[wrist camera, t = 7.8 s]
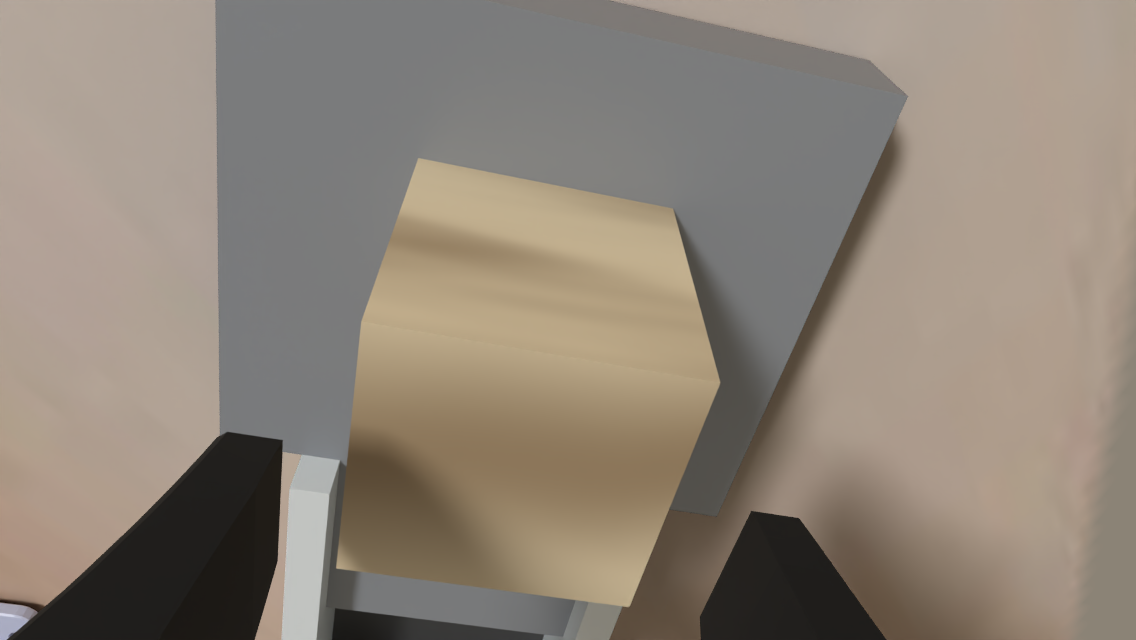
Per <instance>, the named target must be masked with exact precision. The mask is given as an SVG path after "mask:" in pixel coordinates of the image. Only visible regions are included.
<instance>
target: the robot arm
mask: <svg viewBox="0 0 1136 640" xmlns="http://www.w3.org/2000/svg"><path fill="white" fill-rule="evenodd" d="M282 450H283V440H279V439H273V438H266V437H259V436H253V435H246V434H240V433H233V432H226V433H224V434H222V435H221V436H219V437H217V438H216V439H215V440H214V441H213V443H212V444H211V445H210V446H209V447H208V448H207V449H206V450H205V452H204V453H203V454H202V455H201V456H200V457H199V458H198V459H197V460H196V461H195V462H194V463H193V465H192V466H191V467H190V468H189V469H188V470H187V471H186V472H185V473H184V474H183V475H182V476H181V477H180V478H179V479H178V481H177V482H176V483H175V484H174V485H173V486H172V487H171V488H170V489H169V490H168V491H167V492H166V493H165V494H164V495H163V496H162V497H161V498H160V499H159V500H158V501H157V502H156V503H155V504H154V505H153V506H152V507H151V508H150V509H149V510H148V511H147V512H146V513H145V514H144V515H143V516H142V517H141V518H140V519H139V520H138V521H137V522H136V523H135V524H134V525H133V526H132V527H131V528H130V529H129V530H128V531H127V532H126V533H125V534H124V535H123V536H121V537H120V538H119V539H118V540H117V541H116V542H115V543H114V544H113V545H112V546H111V547H110V548H109V549H108V550H107V551H106V552H105V553H104V554H102V555H101V556H100V557H99V558H98V559H97V560H96V561H95V562H94V563H93V564H92V565H91V566H90V567H89V568H88V569H87V570H86V571H85V572H83V573H82V574H81V575H80V576H79V577H78V578H77V579H76V580H75V581H74V582H73V583H71V584H70V585H69V586H68V587H67V588H66V589H65V590H64V591H63V592H61V593H60V594H59V595H58V596H57V597H56V598H55V599H53V600H52V601H51V602H50V603H49V604H48V605H46V606H45V607H44V608H43V609H42V610H41V611H39V612H37V611H35V610H34V609H32V608H30V607H27V606H23V605H16V604H8V603H0V640H255V636H256V633H257V630H258V626H259V623H260V620H261V616H262V613H263V610H264V606H265V603H266V599H267V596H268V592H269V589H270V585H271V582H272V578H273V575H274V571H275V568H276V565H277V561H278V538H279V516H280V494H281V472H282ZM700 629H701V640H886V639H885V637H884V636H883V634H882V633H881V632H880V630H879V629H878V628H877V626H876V625H875V624H874V622H873V621H872V619H871V618H870V617H869V615H868V614H867V612H866V611H865V610H864V608H863V607H862V605H861V604H860V603H859V601H858V600H857V598H856V597H855V596H854V594H853V593H852V591H851V590H850V589H849V587H848V586H847V584H846V583H845V582H844V580H843V579H842V577H841V576H840V574H839V573H838V572H837V570H836V569H835V567H834V566H833V565H832V563H831V562H830V560H829V559H828V558H827V556H826V555H825V553H824V552H823V551H822V549H821V548H820V546H819V545H818V544H817V542H816V541H815V539H814V538H813V537H812V535H811V534H810V532H809V531H808V530H807V528H806V527H805V526H804V524H803V523H802V522H801V520H800V519H799V518H794V517H787V516H781V515H774V514H768V513H761V512H754V511H751V513H750V515H749V517H748V519H747V521H746V523H745V525H744V527H743V529H742V531H741V533H740V536H739V538H738V540H737V542H736V544H735V546H734V548H733V550H732V552H731V554H730V556H729V558H728V560H727V562H726V564H725V566H724V569H723V571H722V573H721V575H720V577H719V579H718V581H717V583H716V585H715V587H714V589H713V591H712V593H711V595H710V597H709V599H708V602H707V604H706V606H705V608H704V610H703V612H702V614H701V616H700Z"/></svg>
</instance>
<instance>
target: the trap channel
mask: <svg viewBox="0 0 1136 640" xmlns="http://www.w3.org/2000/svg"><path fill="white" fill-rule="evenodd" d="M216 96H217V194H218V293H219V392H220V436H221V435H222V434H224V433H226V432H233V433H240V434H246V435H253V436H259V437H266V438H273V439H279V440H283V450H282V452H288V453H295V454H301V455H302V456H301V459H300V462H299V464H298V467H297V470H296V472H295V475H294V478H293V481H292V483H291V486H290V491H289V510H288V529H287V547H286V566H285V585H284V604H283V623H282V640H609V639H610V637H611V634H612V632H613V629H614V627H615V624H616V622H617V619H618V617H619V614H620V612H621V609H622V607H623V606H617V605H609V604H601V603H594V602H586V601H579V600H571V599H564V598H556V597H548V596H541V595H533V594H526V593H518V592H511V591H503V590H495V589H488V588H480V587H473V586H465V585H458V584H450V583H442V582H435V581H427V580H420V579H412V578H404V577H397V576H389V575H382V574H374V573H367V572H359V571H351V570H344V569H336V565H337V556H338V546H339V536H340V526H341V516H342V506H343V496H344V487H345V477H346V467H347V457H348V447H349V437H350V427H351V418H352V408H353V398H354V388H355V378H356V368H357V359H358V349H359V339H360V329H361V321H362V318H363V315H364V312H365V309H366V306H367V304H368V301H369V298H370V295H371V292H372V289H373V286H374V284H375V281H376V278H377V275H378V272H379V269H380V266H381V263H382V261H383V258H384V255H385V252H386V249H387V246H388V243H389V241H390V238H391V235H392V232H393V229H394V226H395V223H396V221H397V218H398V215H399V212H400V209H401V206H402V203H403V201H404V198H405V195H406V192H407V189H408V186H409V183H410V181H411V178H412V175H413V172H414V169H415V166H416V163H417V160H418V158H421V159H426V160H431V161H436V162H441V163H446V164H451V165H456V166H461V167H466V168H471V169H476V170H481V171H486V172H491V173H496V174H501V175H506V176H511V177H516V178H521V179H526V180H531V181H537V182H542V183H547V184H552V185H557V186H562V187H567V188H572V189H577V190H582V191H587V192H592V193H597V194H602V195H607V196H612V197H617V198H622V199H627V200H632V201H637V202H642V203H647V204H653V205H658V206H663V207H668V208H673V210H674V213H675V217H676V221H677V225H678V228H679V232H680V236H681V239H682V243H683V247H684V250H685V254H686V258H687V261H688V265H689V269H690V272H691V276H692V280H693V284H694V287H695V291H696V295H697V298H698V302H699V306H700V309H701V313H702V317H703V320H704V324H705V328H706V331H707V335H708V339H709V342H710V346H711V350H712V354H713V357H714V361H715V365H716V368H717V372H718V376H719V379H720V385H719V388H718V390H717V393H716V395H715V397H714V400H713V402H712V405H711V407H710V410H709V412H708V415H707V417H706V420H705V422H704V425H703V427H702V429H701V432H700V434H699V437H698V439H697V442H696V444H695V447H694V449H693V452H692V454H691V457H690V459H689V461H688V464H687V466H686V469H685V471H684V474H683V476H682V479H681V481H680V484H679V486H678V489H677V491H676V493H675V496H674V498H673V501H672V503H671V506H670V508H669V510H676V511H682V512H689V513H696V514H702V515H709V516H716V517H717V515H718V513H719V511H720V508H721V506H722V504H723V502H724V500H725V497H726V495H727V493H728V491H729V489H730V486H731V484H732V482H733V480H734V478H735V475H736V473H737V471H738V469H739V467H740V464H741V462H742V460H743V458H744V456H745V453H746V451H747V449H748V447H749V445H750V442H751V440H752V438H753V436H754V434H755V431H756V429H757V427H758V425H759V423H760V420H761V418H762V416H763V414H764V412H765V409H766V407H767V405H768V403H769V401H770V398H771V396H772V394H773V392H774V390H775V387H776V385H777V383H778V381H779V379H780V376H781V374H782V372H783V370H784V368H785V365H786V363H787V361H788V359H789V357H790V354H791V352H792V350H793V348H794V346H795V343H796V341H797V339H798V337H799V335H800V332H801V330H802V328H803V326H804V324H805V322H806V319H807V317H808V315H809V313H810V311H811V308H812V306H813V304H814V302H815V300H816V297H817V295H818V293H819V291H820V289H821V286H822V284H823V282H824V280H825V278H826V275H827V273H828V271H829V269H830V267H831V264H832V262H833V260H834V258H835V256H836V253H837V251H838V249H839V247H840V245H841V242H842V240H843V238H844V236H845V234H846V231H847V229H848V227H849V225H850V223H851V220H852V218H853V216H854V214H855V212H856V209H857V207H858V205H859V203H860V201H861V198H862V196H863V194H864V192H865V190H866V187H867V185H868V183H869V181H870V179H871V176H872V174H873V172H874V170H875V168H876V165H877V163H878V161H879V159H880V157H881V154H882V152H883V150H884V148H885V146H886V143H887V141H888V139H889V137H890V135H891V132H892V130H893V128H894V126H895V124H896V121H897V119H898V117H899V115H900V113H901V110H902V108H903V106H904V104H905V102H906V100H907V97H908V96H907V95H906V94H905V93H904V92H903V91H902V90H901V89H900V88H898V87H897V86H896V85H895V84H894V83H893V82H892V81H891V80H890V79H889V78H888V77H887V76H885V75H884V74H883V73H882V72H881V71H880V70H879V69H878V68H877V67H876V66H875V65H874V64H872V63H871V62H870V61H869V60H865V59H860V58H856V57H852V56H847V55H843V54H839V53H834V52H830V51H826V50H821V49H817V48H813V47H808V46H804V45H800V44H795V43H791V42H787V41H782V40H778V39H774V38H769V37H765V36H761V35H756V34H752V33H748V32H743V31H739V30H735V29H730V28H726V27H722V26H717V25H713V24H709V23H705V22H700V21H696V20H692V19H687V18H683V17H679V16H674V15H670V14H666V13H661V12H657V11H653V10H648V9H644V8H640V7H635V6H631V5H627V4H622V3H618V2H614V1H609V0H216Z"/></svg>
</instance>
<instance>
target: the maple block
mask: <svg viewBox="0 0 1136 640" xmlns="http://www.w3.org/2000/svg"><path fill="white" fill-rule="evenodd" d="M719 385H720V379H719V376H718V372H717V368H716V365H715V361H714V357H713V354H712V350H711V346H710V342H709V339H708V335H707V331H706V328H705V324H704V320H703V317H702V313H701V309H700V306H699V302H698V298H697V295H696V291H695V287H694V284H693V280H692V276H691V272H690V269H689V265H688V261H687V258H686V254H685V250H684V247H683V243H682V239H681V236H680V232H679V228H678V225H677V221H676V217H675V213H674V210H673V208H668V207H663V206H658V205H653V204H647V203H642V202H637V201H632V200H627V199H622V198H617V197H612V196H607V195H602V194H597V193H592V192H587V191H582V190H577V189H572V188H567V187H562V186H557V185H552V184H547V183H542V182H537V181H531V180H526V179H521V178H516V177H511V176H506V175H501V174H496V173H491V172H486V171H481V170H476V169H471V168H466V167H461V166H456V165H451V164H446V163H441V162H436V161H431V160H426V159H421V158H418V160H417V163H416V166H415V169H414V172H413V175H412V178H411V181H410V183H409V186H408V189H407V192H406V195H405V198H404V201H403V203H402V206H401V209H400V212H399V215H398V218H397V221H396V223H395V226H394V229H393V232H392V235H391V238H390V241H389V243H388V246H387V249H386V252H385V255H384V258H383V261H382V263H381V266H380V269H379V272H378V275H377V278H376V281H375V284H374V286H373V289H372V292H371V295H370V298H369V301H368V304H367V306H366V309H365V312H364V315H363V318H362V321H361V329H360V339H359V349H358V359H357V368H356V378H355V388H354V398H353V408H352V418H351V427H350V437H349V447H348V457H347V467H346V477H345V487H344V496H343V506H342V516H341V526H340V536H339V546H338V556H337V565H336V569H344V570H351V571H359V572H367V573H374V574H382V575H389V576H397V577H404V578H412V579H420V580H427V581H435V582H442V583H450V584H458V585H465V586H473V587H480V588H488V589H495V590H503V591H511V592H518V593H526V594H533V595H541V596H548V597H556V598H564V599H571V600H579V601H586V602H594V603H601V604H609V605H617V606H624V607H630V604H631V602H632V599H633V597H634V594H635V592H636V590H637V587H638V585H639V582H640V580H641V577H642V575H643V572H644V570H645V567H646V565H647V562H648V560H649V558H650V555H651V553H652V550H653V548H654V545H655V543H656V540H657V538H658V535H659V533H660V530H661V528H662V526H663V523H664V521H665V518H666V516H667V513H668V511H669V508H670V506H671V503H672V501H673V498H674V496H675V493H676V491H677V489H678V486H679V484H680V481H681V479H682V476H683V474H684V471H685V469H686V466H687V464H688V461H689V459H690V457H691V454H692V452H693V449H694V447H695V444H696V442H697V439H698V437H699V434H700V432H701V429H702V427H703V425H704V422H705V420H706V417H707V415H708V412H709V410H710V407H711V405H712V402H713V400H714V397H715V395H716V393H717V390H718V388H719Z"/></svg>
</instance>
